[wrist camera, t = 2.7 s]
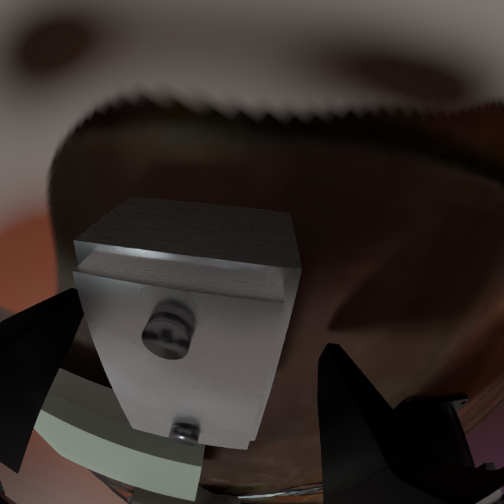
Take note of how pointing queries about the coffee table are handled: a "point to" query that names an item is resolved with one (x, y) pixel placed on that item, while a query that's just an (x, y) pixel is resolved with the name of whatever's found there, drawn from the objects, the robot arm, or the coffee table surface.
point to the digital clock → (145, 500)
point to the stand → (114, 439)
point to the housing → (189, 313)
